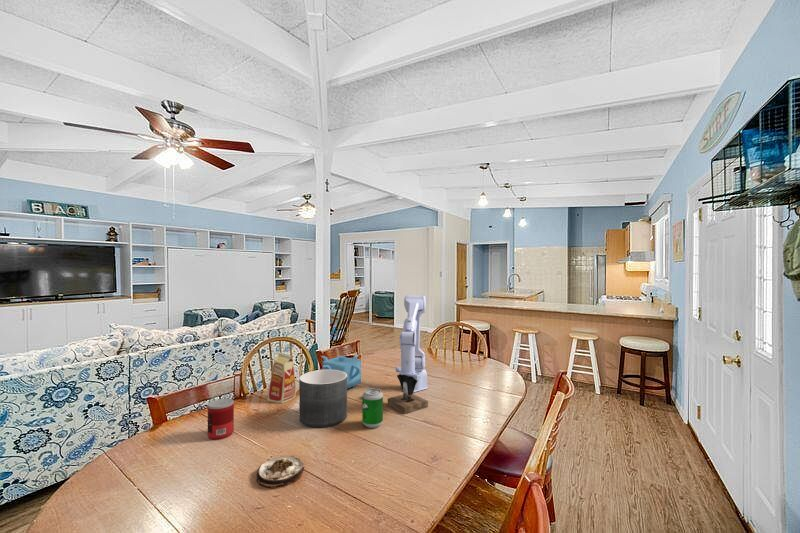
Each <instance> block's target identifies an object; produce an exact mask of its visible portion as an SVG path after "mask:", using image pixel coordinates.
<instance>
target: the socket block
mask: <svg viewBox="0 0 800 533" xmlns="http://www.w3.org/2000/svg"><path fill="white" fill-rule="evenodd" d="M387 406H389V407H392V408H393V409H394V410H396V411H399V412H400V413H402V414H404V415H407V414H410V413H413V412H417V411H420V410H423V409H426V408H428V407H429V401H428V399H425V398H423V397H421V396H418V395H417V394H415V393H413V394H412V395H411V400H404V399H403V393H401V394H399V395H395V396H391V397H389V398H387Z"/></svg>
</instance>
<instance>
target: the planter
mask: <svg viewBox="0 0 800 533" xmlns="http://www.w3.org/2000/svg"><path fill="white" fill-rule="evenodd" d="M298 383H299V384H298V385H299V388H298V389H299V394H298V395H299V397H298V398H299V400H298V401H299V402H298V403H299V409H298V410H299V411H298V412H299V418H298V420H299V422H300V424H301V425H303V426H305V427H307V428H308V427H309V428H316V429H317V428H319V429H321V428H328V427H334V426H336V425H339V424H340V423H343V422H345V420H346V419H347V417H348V410H347V409H348V389H347V374H346V373H345V372H342V371H338V370H322V369H317V370H312V371H308V372H306V373H303V374H302V375H300V376H299V382H298Z"/></svg>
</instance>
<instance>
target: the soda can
mask: <svg viewBox="0 0 800 533" xmlns="http://www.w3.org/2000/svg"><path fill="white" fill-rule="evenodd" d="M367 389H368V388H367ZM367 389H366V390H365V391H364V392H363V393H362V398H361V399H362V403H361V404H362V406H361V407H362V410H361V411H362V412H361V414H362V415H361V416H362V417H361V418H362V419H361V420H362V422H361V423H362V424H363V425H364V426H365V427H366V428H368V429H375V428H378V427H380V426H381V425H382V424H383V422H384V393H383V392H381V390H380V389H378V388H374V389H368V390H367Z"/></svg>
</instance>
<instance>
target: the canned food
mask: <svg viewBox="0 0 800 533" xmlns="http://www.w3.org/2000/svg"><path fill="white" fill-rule="evenodd" d="M234 403H235V402H234V399H232V398H219V399H215V400H212V401H210V402H208V404H207V437H208V439H209V440H212V441H213V440H214V441H217V440H223V439H226V438H229V437H230V436H232V435H233V433H234V428H235V427H234V426H235V424H234V423H235V420H234V418H235V417H234V416H235V414H234V413H235V404H234Z"/></svg>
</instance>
